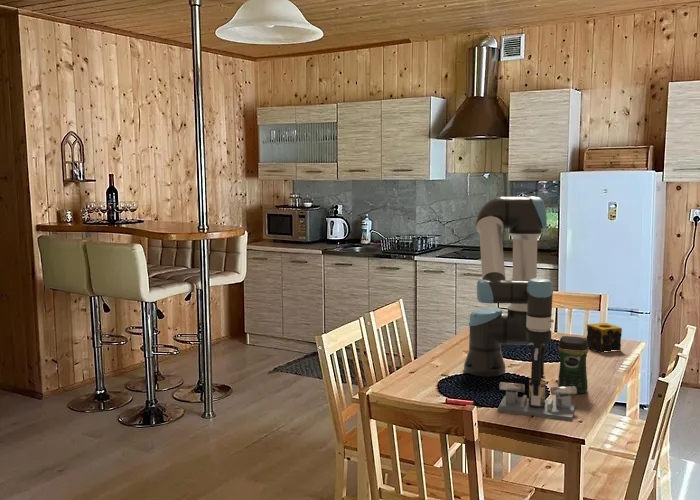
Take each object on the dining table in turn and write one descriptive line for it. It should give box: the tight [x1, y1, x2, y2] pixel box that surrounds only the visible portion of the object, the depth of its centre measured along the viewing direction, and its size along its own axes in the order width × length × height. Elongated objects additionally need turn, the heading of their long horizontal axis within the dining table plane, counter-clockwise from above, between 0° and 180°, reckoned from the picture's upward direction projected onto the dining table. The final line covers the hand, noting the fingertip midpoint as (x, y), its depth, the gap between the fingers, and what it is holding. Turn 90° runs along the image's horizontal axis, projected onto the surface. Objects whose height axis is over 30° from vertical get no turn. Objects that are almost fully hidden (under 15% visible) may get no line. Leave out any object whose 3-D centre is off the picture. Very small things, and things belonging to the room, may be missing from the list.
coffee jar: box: [557, 335, 589, 394], centre depth 231 cm, size 10×8×19 cm
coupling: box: [528, 378, 547, 408], centre depth 214 cm, size 5×5×8 cm
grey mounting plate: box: [497, 394, 576, 421], centre depth 214 cm, size 22×13×3 cm, turn 68°
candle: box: [586, 322, 623, 353], centre depth 285 cm, size 10×10×10 cm
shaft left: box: [498, 381, 526, 405], centre depth 217 cm, size 8×4×6 cm, turn 68°
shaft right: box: [550, 386, 578, 409], centre depth 213 cm, size 8×4×6 cm, turn 98°
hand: (536, 401), depth 214 cm, fingers closed on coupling, 5 cm apart
